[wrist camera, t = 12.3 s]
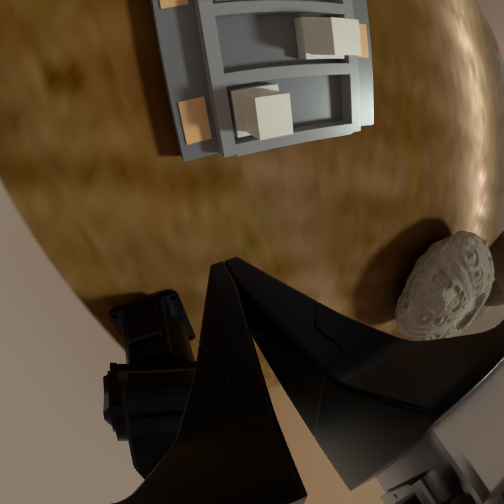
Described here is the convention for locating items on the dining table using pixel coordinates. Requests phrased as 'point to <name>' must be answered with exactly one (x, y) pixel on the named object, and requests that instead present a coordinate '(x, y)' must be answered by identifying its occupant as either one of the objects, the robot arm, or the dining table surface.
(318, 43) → the tab
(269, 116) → the tab
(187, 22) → the switch bank
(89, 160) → the dining table surface
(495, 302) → the decorative dome
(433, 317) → the grey rounded stone
